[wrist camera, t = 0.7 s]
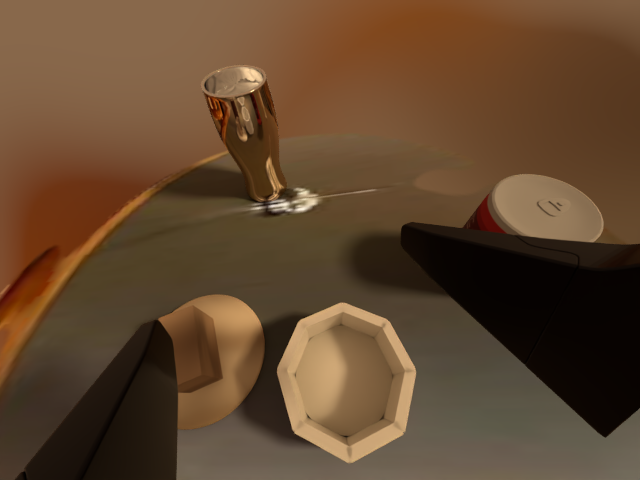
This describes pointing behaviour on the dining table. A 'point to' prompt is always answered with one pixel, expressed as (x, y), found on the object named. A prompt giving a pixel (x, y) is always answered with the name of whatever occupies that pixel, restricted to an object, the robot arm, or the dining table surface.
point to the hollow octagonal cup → (346, 381)
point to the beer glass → (247, 127)
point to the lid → (214, 357)
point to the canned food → (538, 210)
